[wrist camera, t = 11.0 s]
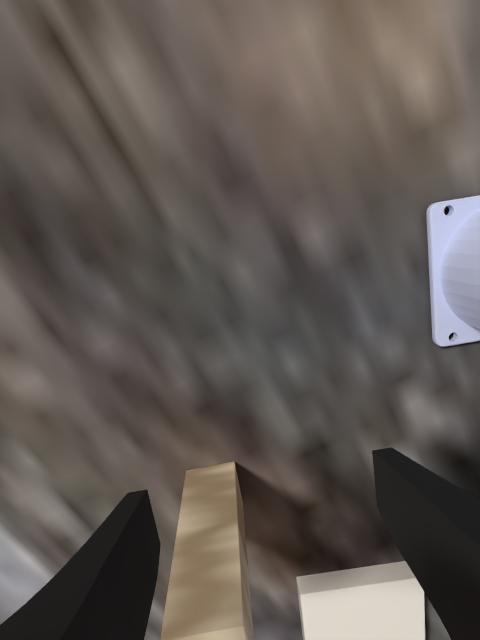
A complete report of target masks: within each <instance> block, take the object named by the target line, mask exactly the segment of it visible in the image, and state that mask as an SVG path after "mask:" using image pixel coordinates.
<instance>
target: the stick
mask: <svg viewBox="0 0 480 640" xmlns="http://www.w3.org/2000/svg"><path fill="white" fill-rule="evenodd" d="M160 640H254V638H253V625H252V612H251V600H250V587H249V574H248V562H247V549H246V536H245V523H244V511H243V501H242V496H241V491H240V486H239V482H238V477H237V472H236V467H235V462H229V463H224V464H219V465H213V466H208V467H203V468H197V469H192V470H187V471H186V476H185V483H184V489H183V496H182V502H181V509H180V515H179V522H178V528H177V535H176V541H175V548H174V554H173V561H172V567H171V574H170V580H169V587H168V593H167V600H166V606H165V613H164V619H163V626H162V633H161V639H160Z"/></svg>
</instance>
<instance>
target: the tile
mask: <svg viewBox="0 0 480 640" xmlns="http://www.w3.org/2000/svg"><path fill="white" fill-rule="evenodd" d="M296 579H297V588H298V597H299V606H300V615H301V624H302V633H303V640H425V612H424V591H423V589H422V587H421V586H420V584H419V582H418V581H417V579H416V577H415V576H414V574H413V573H412V571H411V569H410V568H409V566H408V564H407V563H406V561H402V562H395V563H388V564H381V565H374V566H367V567H361V568H354V569H347V570H340V571H333V572H326V573H319V574H312V575H306V576H299V577H296Z"/></svg>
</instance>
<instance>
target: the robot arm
mask: <svg viewBox="0 0 480 640" xmlns="http://www.w3.org/2000/svg"><path fill="white" fill-rule="evenodd" d="M446 206H447V207H448V208H449V213H448V214H447V215H445V214H444V208H445V207H446ZM427 234H428V254H429V275H430V296H431V316H432V337H433V342H434V343H435V344H437V345H439V346H441V347H445V346H451V345H457V344H463V343H469V342H475V341H480V196H474V197H468V198H462V199H455V200H449V201H443V202H437V203H433V204H431V205H430V206H429V207H428V209H427ZM451 333H453V334H454V335H453V338H452V339H450V340H449V335H450V334H451ZM372 454H373V465H374V476H375V487H376V497H377V507H378V509H379V511H380V513H381V516H382V518H383V520H384V522H385V525H386V527H387V529H388V531H389V533H390V535H391V537H392V539H393V541H394V543H395V544H396V546H397V548H398V549H399V551H400V553H401V554H402V556H403V558H404V559H405V561H406V563H407V564H408V566H409V568H410V569H411V571H412V573H413V574H414V576H415V577H416V579H417V581H418V582H419V584H420V586H421V587H422V589H423V591H424V592H425V594H426V596H427V597H428V599H429V600H430V602H431V604H432V605H433V607H434V609H435V610H436V612H437V614H438V615H439V617H440V619H441V621H442V623H443V624H444V626H445V628H446V630H447V632H448V634H449V636H450V638H451V640H480V498H478V497H476V496H475V495H473V494H471V493H469V492H467V491H465V490H463V489H461V488H459V487H457V486H456V485H454V484H452V483H450V482H448V481H447V480H445V479H443V478H441V477H440V476H438V475H436V474H434V473H433V472H431V471H429V470H428V469H426V468H424V467H423V466H421V465H420V464H418V463H416V462H415V461H413V460H411V459H410V458H408V457H406V456H405V455H403V454H402V453H400V452H398V451H396V450H395V449H393V448H386V449H380V450H374V451H372ZM159 555H160V540H159V536H158V532H157V528H156V524H155V520H154V516H153V512H152V508H151V504H150V500H149V496H148V491H147V490H142V491H136V492H130V493H127V495H126V496H125V497H124V498H123V499H122V500H121V501H120V503H119V504H118V505H117V506H116V507H115V509H114V510H113V511H112V512H111V514H110V515H109V516H108V517H107V518H106V520H105V521H104V522H103V523H102V524H101V525H100V527H99V528H98V529H97V530H96V531H95V533H94V534H93V535H92V536H91V537H90V538H89V540H88V541H87V542H86V543H85V544H84V545H83V546H82V547H81V548H80V550H79V551H78V552H77V553H76V554H75V555H74V556H73V557H72V558H71V559H70V560H69V561H68V562H67V564H66V565H65V566H64V567H63V568H62V569H61V570H60V571H59V572H58V573H57V574H56V575H55V576H54V577H53V578H52V579H51V580H50V581H49V582H48V583H47V584H46V585H45V586H44V587H43V588H42V589H41V590H40V591H39V592H38V593H36V594H35V595H34V596H33V597H32V598H31V599H30V600H29V601H28V602H27V603H26V604H25V605H23V606H22V607H21V608H20V609H19V610H18V611H17V612H15V613H14V614H13V615H12V616H11V617H9V618H8V619H7V620H6V621H5V622H3V623H2V624H1V625H0V640H144V636H145V632H146V627H147V623H148V618H149V614H150V609H151V605H152V600H153V596H154V591H155V586H156V581H157V574H158V565H159Z"/></svg>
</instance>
